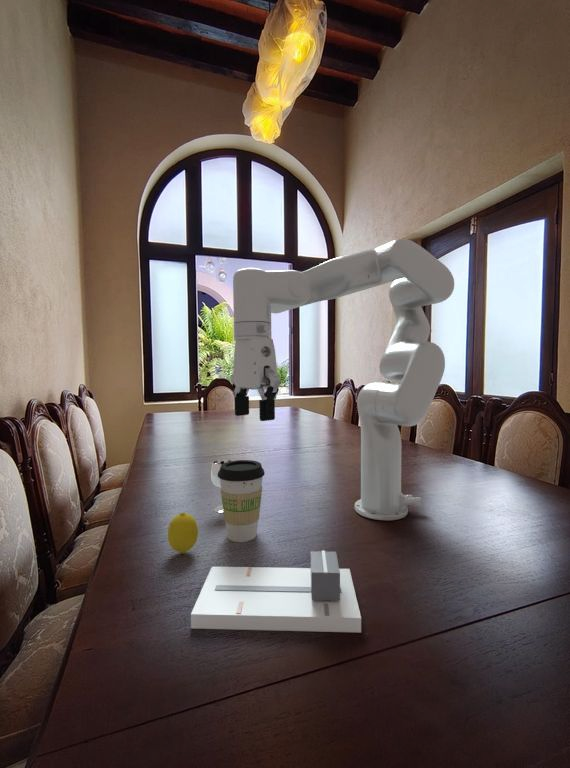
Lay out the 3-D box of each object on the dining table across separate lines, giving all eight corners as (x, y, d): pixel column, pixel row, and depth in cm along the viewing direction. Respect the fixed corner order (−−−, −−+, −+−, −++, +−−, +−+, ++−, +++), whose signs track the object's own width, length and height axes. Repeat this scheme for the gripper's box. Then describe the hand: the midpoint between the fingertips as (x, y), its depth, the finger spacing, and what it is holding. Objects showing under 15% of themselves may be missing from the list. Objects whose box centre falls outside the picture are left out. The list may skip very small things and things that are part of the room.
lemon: (186, 543, 75) (186, 504, 74) (204, 552, 71) (203, 511, 71) (162, 554, 70) (161, 513, 70) (179, 564, 67) (178, 521, 66)
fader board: (349, 580, 61) (349, 568, 61) (361, 632, 49) (361, 617, 49) (212, 578, 62) (212, 565, 62) (191, 628, 50) (190, 613, 50)
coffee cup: (220, 549, 72) (219, 473, 71) (216, 528, 82) (215, 461, 81) (269, 542, 75) (269, 469, 74) (260, 522, 84) (259, 457, 84)
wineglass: (230, 514, 89) (229, 465, 89) (207, 512, 90) (206, 464, 90) (237, 505, 95) (237, 459, 94) (216, 504, 96) (216, 458, 95)
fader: (335, 576, 58) (335, 550, 58) (340, 600, 52) (340, 572, 52) (310, 575, 59) (310, 550, 58) (311, 600, 52) (311, 571, 52)
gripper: (293, 330, 70) (294, 420, 70) (247, 336, 83) (248, 412, 84) (259, 328, 65) (261, 424, 66) (216, 335, 79) (218, 415, 80)
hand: (254, 417), depth 75 cm, fingers open, 9 cm apart
